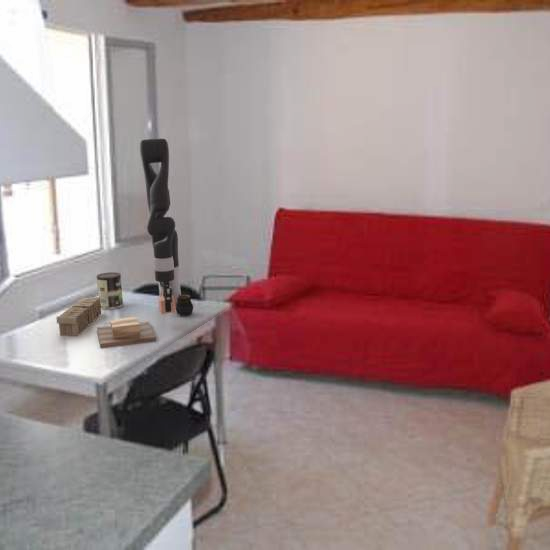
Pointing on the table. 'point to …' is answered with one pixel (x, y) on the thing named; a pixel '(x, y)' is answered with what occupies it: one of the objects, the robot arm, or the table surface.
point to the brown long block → (79, 316)
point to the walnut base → (126, 339)
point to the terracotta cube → (162, 305)
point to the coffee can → (110, 290)
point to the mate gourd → (184, 305)
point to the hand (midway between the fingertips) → (167, 309)
